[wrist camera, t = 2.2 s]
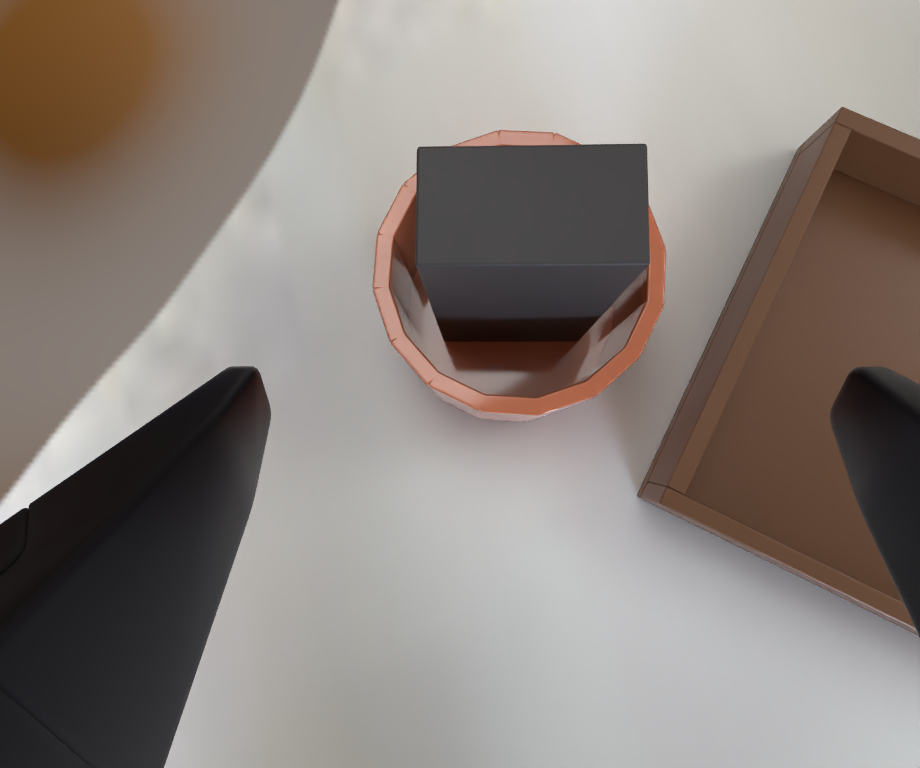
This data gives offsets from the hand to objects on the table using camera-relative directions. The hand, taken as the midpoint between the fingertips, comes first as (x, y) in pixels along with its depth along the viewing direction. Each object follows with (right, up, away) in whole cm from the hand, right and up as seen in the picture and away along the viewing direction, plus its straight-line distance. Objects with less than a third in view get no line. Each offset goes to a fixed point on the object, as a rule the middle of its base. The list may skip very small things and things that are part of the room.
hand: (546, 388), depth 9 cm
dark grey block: (0, +3, +12) cm, 12 cm away
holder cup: (0, +3, +12) cm, 13 cm away
